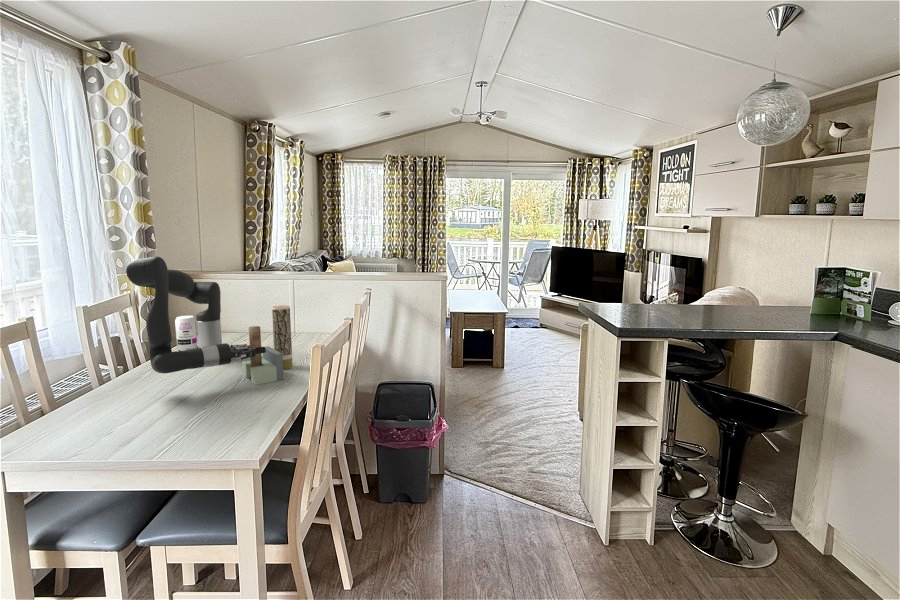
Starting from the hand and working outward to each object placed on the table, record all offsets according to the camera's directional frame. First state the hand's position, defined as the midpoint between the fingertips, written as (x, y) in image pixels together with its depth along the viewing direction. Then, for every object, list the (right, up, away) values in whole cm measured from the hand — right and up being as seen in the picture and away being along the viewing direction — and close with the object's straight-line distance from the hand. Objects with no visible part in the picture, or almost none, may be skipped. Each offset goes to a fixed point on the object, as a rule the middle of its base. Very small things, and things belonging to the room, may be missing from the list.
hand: (262, 348), depth 201 cm
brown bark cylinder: (+3, -9, +15) cm, 18 cm away
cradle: (-1, -11, +1) cm, 11 cm away
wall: (+3, -11, +4) cm, 12 cm away
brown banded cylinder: (-2, -10, 0) cm, 10 cm away
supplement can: (-49, -4, +42) cm, 64 cm away
